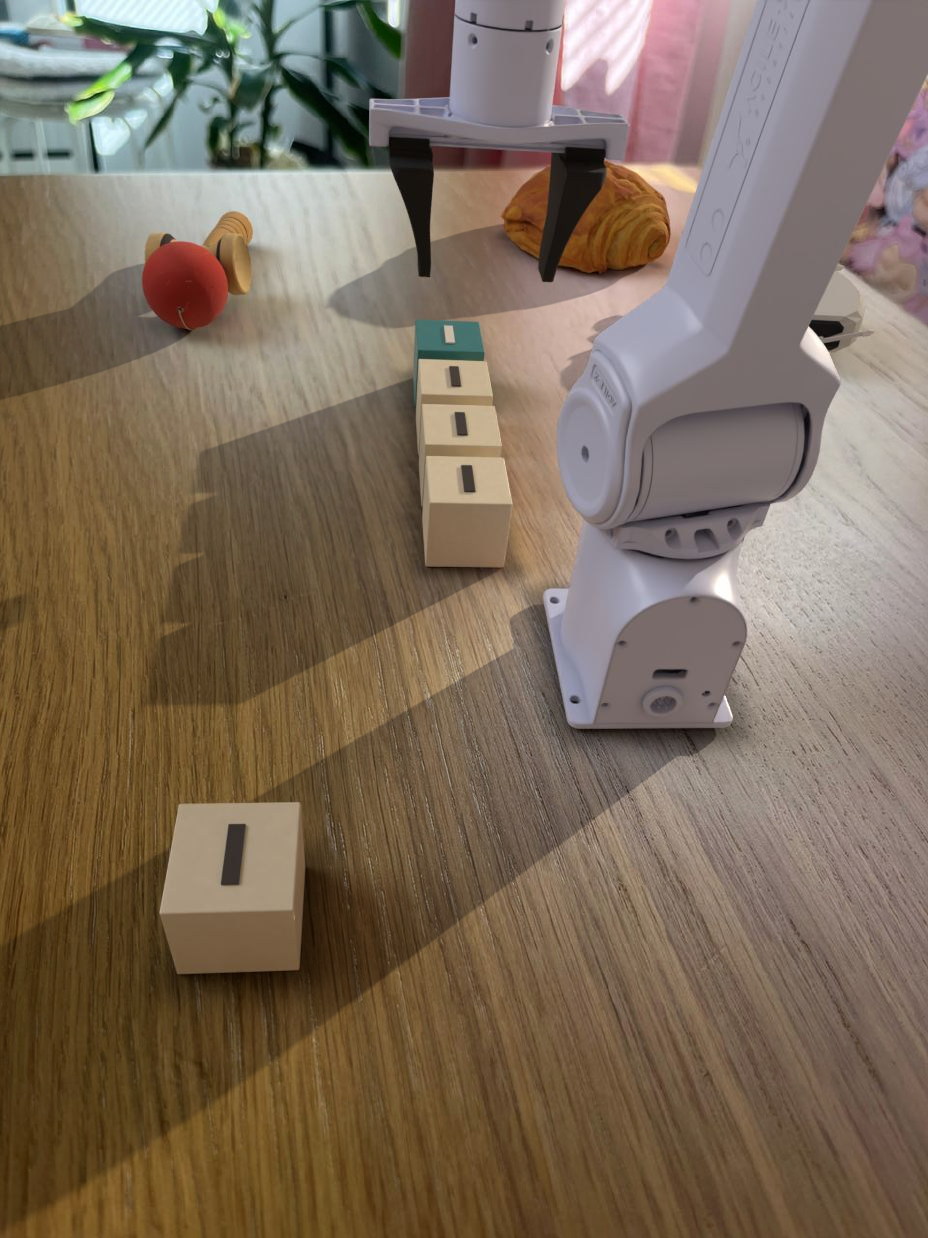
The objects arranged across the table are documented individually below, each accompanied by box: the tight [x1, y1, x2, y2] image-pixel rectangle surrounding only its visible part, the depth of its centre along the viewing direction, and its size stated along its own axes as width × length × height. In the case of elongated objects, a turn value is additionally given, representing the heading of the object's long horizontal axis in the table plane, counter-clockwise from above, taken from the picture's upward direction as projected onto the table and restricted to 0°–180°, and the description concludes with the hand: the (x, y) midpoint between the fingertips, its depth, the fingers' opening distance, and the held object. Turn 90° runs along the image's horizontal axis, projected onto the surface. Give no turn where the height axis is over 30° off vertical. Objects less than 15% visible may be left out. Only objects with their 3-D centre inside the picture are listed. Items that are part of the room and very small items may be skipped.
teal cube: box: [412, 318, 486, 410], centre depth 64 cm, size 4×4×4 cm
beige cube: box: [421, 456, 513, 568], centre depth 52 cm, size 4×4×4 cm
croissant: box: [500, 160, 672, 274], centre depth 85 cm, size 14×16×8 cm
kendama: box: [141, 210, 254, 331], centre depth 72 cm, size 8×6×18 cm
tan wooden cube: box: [418, 404, 503, 508], centre depth 56 cm, size 4×4×4 cm
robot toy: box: [809, 264, 876, 353], centre depth 74 cm, size 12×4×15 cm
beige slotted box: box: [159, 801, 306, 975], centre depth 34 cm, size 4×4×4 cm
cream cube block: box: [415, 359, 494, 456], centre depth 60 cm, size 4×4×4 cm
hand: (485, 272), depth 58 cm, fingers open, 7 cm apart
